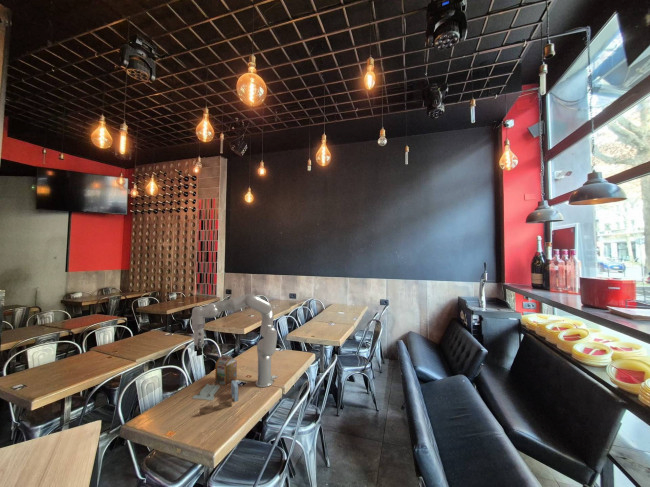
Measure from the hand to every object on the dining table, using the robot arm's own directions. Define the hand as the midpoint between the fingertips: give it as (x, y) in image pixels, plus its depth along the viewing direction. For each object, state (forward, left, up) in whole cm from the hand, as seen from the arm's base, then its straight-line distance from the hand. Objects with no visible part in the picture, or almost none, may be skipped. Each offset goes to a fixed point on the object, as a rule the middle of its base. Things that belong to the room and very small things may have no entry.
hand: (198, 353), depth 168 cm
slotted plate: (-21, +8, -31) cm, 38 cm away
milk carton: (-21, -19, -31) cm, 42 cm away
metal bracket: (-7, -6, -31) cm, 33 cm away
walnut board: (-8, +17, -31) cm, 36 cm away
